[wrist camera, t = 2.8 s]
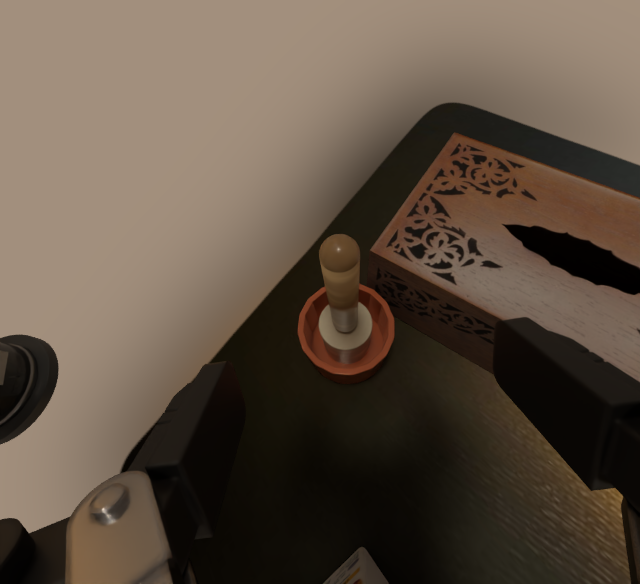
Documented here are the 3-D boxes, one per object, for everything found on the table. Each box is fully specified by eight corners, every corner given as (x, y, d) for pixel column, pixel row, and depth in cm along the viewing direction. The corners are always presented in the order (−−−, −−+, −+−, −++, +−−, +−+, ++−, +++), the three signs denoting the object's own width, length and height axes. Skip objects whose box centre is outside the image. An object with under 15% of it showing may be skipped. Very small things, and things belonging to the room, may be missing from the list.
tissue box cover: (365, 299, 33) (369, 250, 24) (429, 205, 37) (454, 132, 28) (638, 458, 25) (802, 476, 16) (682, 317, 29) (834, 266, 20)
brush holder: (321, 395, 29) (313, 388, 24) (298, 320, 33) (287, 298, 27) (400, 368, 30) (410, 355, 24) (369, 296, 33) (373, 270, 27)
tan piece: (332, 370, 30) (306, 300, 13) (319, 328, 31) (281, 221, 15) (376, 355, 30) (403, 268, 13) (360, 314, 32) (366, 194, 15)
